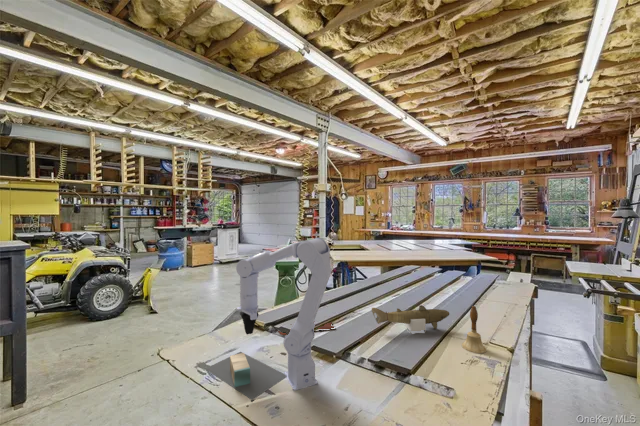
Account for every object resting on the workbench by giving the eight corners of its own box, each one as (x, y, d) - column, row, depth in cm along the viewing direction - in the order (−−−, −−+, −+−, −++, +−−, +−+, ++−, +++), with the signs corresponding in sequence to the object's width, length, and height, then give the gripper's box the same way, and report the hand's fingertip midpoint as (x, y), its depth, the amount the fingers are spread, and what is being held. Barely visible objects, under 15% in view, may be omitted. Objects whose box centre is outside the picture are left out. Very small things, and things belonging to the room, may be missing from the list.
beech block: (244, 366, 95) (250, 383, 86) (230, 369, 93) (234, 387, 84) (244, 352, 95) (250, 368, 86) (229, 355, 93) (234, 372, 84)
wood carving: (368, 329, 125) (368, 303, 125) (442, 324, 130) (442, 300, 130) (374, 338, 116) (374, 311, 116) (454, 333, 121) (454, 307, 121)
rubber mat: (287, 377, 90) (287, 375, 90) (251, 401, 79) (251, 399, 79) (240, 353, 105) (240, 351, 105) (204, 370, 94) (204, 368, 94)
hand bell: (463, 351, 106) (464, 309, 106) (460, 341, 114) (460, 301, 114) (489, 355, 104) (490, 311, 103) (483, 344, 112) (484, 304, 111)
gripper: (233, 289, 102) (233, 327, 102) (241, 301, 89) (241, 345, 89) (253, 287, 105) (253, 323, 105) (263, 298, 92) (263, 340, 92)
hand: (249, 333), depth 98 cm, fingers closed
